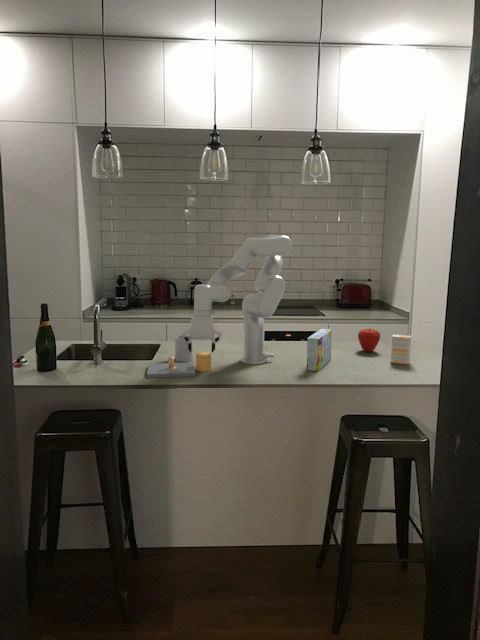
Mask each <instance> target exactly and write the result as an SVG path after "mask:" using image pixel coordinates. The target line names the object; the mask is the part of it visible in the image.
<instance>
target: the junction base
mask: <svg viewBox="0 0 480 640" xmlns="http://www.w3.org/2000/svg"><path fill="white" fill-rule="evenodd" d="M193 376H194V377H196V366H195V362H175V356H172V355H171V356H168V362H165V363H163V362H159V363H149V364H148V367H147V371H146V378H147V379H151V378H185V377H186V378H187V377H188V378H191V377H193Z"/></svg>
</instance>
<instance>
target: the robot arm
mask: <svg viewBox="0 0 480 640" xmlns="http://www.w3.org/2000/svg"><path fill="white" fill-rule="evenodd" d="M292 249H293V242H292V240H291V238H290V237H289V236H286V235H283V234H282V235H280V234H278V235H277V234H269V235H268V234H267V235H265V236H264V237H249V238H246V240H245V241H244V242H243V243H242V245H240V247H239V249H237V251H236V253H235V254H234V255H233V256H232V258H231V260H229V262H227V263H226V264H225V265H223V266H221V267H220V268H219V269H218V270H217V271H215V272H214V273H213V274H212V276H211V277H210V279H208V282H207V283H206V284H202V283H201V284H196V285H195V287H194V295H193V296H194V297H193V299H194V302H193V315H191V320H190V328H188V329H187V330H185V331H183V332H181V335H183V337H184V339H185V340H186V341H187V342H188V350H190V352H191V350H192V340H193V341H194V340H210V341H211V354H213V353H214V352H215V351H216V343H217V342H219V341H220V339H221V337H222V335H223V333H222V332H221V331H218V330H217V329H215V325H214V316H213V315H216V314H215V313H216V311H215V310H213V309H212V304H213V302H218V303H225V302H227V301H228V300H229V299H230V298H231V296H232V291H231V289H230V288H229V287H228V286H227V285H226V284H227V283H228V282H230V281H232V280H233V279H235V278H238V277H240V276H243V275H244V274H246V273H247V271H248V270H249V268H250V267H251V265H252V264H253V263H254V262H255V260H256V259H257V258H264V263H263V266H262V268H261V269H260V271H259V274H258V275H257V277H256V279H255V282H254V289H255V291H256V292H257V293H260V294H262V295H260V294H256V293H250V294H247V295H246V296H245V297H244V298H243V300H242V303H241V309H242V315H243V356H241V357H240V359H239V361H240V362H241V363H242V364H245V365H263V364H265V363H267V361H268V358H270V359H272V358H274V357H275V355H274V353H271V352H266V351H265V319H267V318H268V319H269V318H271V317H272V316H273V314H274V313H275V311H276V309H277V308H278V306H279V303H280V302H281V299H282V297H283V296H284V294H285V290H286V282H285V281H286V280H285V279H284V278H283V277H282V276H280V274H281V272H282V270H283V264H284V263H283V258H282V256H284V255H287V254H289V253H290V252H291V250H292ZM188 334H189V336H191V337H190V338H189V339H188V337H187V336H186V335H188ZM215 334H216V335H217V337H214V335H215Z"/></svg>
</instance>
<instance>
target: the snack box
mask: <svg viewBox="0 0 480 640" xmlns="http://www.w3.org/2000/svg"><path fill="white" fill-rule="evenodd" d="M331 360H332V329H330V328H329V329H328V328H320V329H319V330H317V331H316V332H314V333H313V334H311V335H310V336H309V337H307V338H306V371H311V372H319V371H320V370H322V368H323V367H324V366H325V365H327V364H328V363H329V362H330V361H331Z"/></svg>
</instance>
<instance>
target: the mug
mask: <svg viewBox="0 0 480 640" xmlns="http://www.w3.org/2000/svg"><path fill="white" fill-rule="evenodd" d="M186 336H187V337H188V339H189V338H190V337H191V336H190V334H189V335H188V334H186ZM174 341H175V342H174V346H175V347H174V349H175V350H174V352H175V355H174V361H175V362H177V363H191V362H193V361H194V339H193V340H192V350H191V352H190V350H188V342H187V341H186V340H185V339H184V337H183V335H182V334H180V335H176V336H175V338H174ZM192 360H193V361H192Z"/></svg>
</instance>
